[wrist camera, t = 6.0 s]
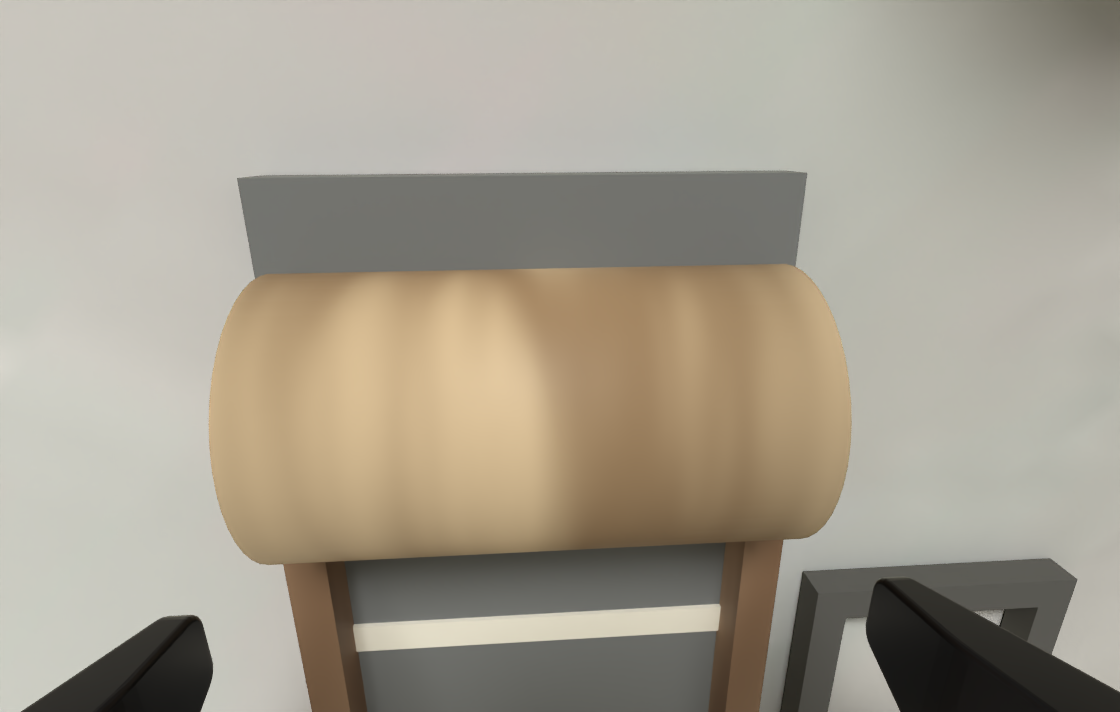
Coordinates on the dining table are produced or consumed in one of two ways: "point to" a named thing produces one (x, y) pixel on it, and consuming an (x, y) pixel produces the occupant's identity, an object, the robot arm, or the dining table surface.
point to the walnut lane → (736, 654)
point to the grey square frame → (1015, 585)
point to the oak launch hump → (526, 411)
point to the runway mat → (546, 576)
